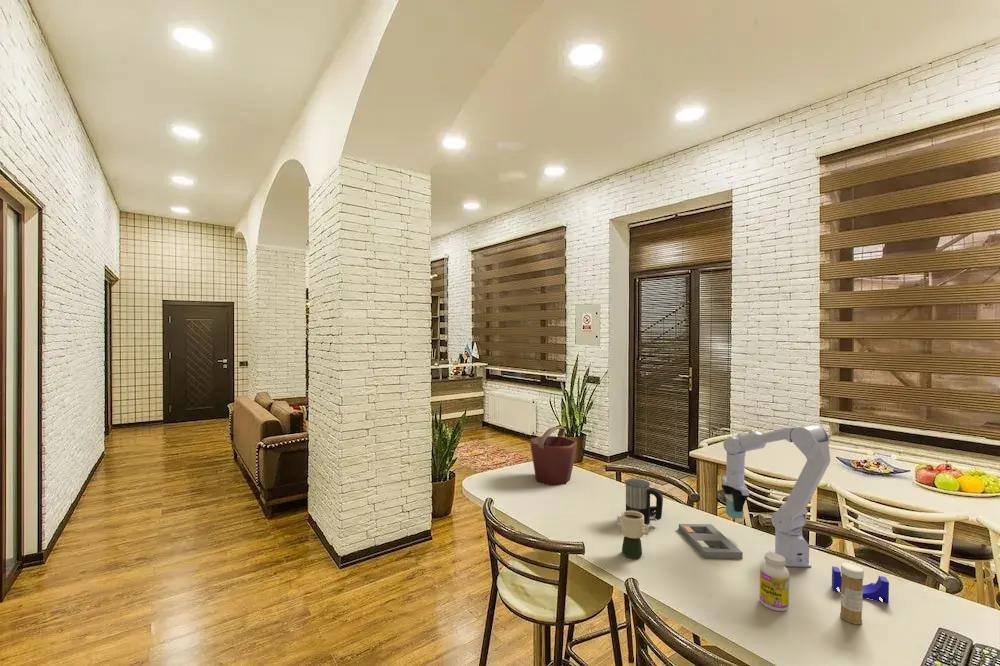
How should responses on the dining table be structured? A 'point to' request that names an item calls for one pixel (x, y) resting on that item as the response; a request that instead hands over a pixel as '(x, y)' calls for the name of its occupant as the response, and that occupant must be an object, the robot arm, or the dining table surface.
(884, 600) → the cable clip
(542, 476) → the bucket
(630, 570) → the dining table surface
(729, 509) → the plug
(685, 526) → the socket plate
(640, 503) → the milk frother
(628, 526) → the character mug
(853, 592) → the sprinkles bottle
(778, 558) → the supplement bottle
